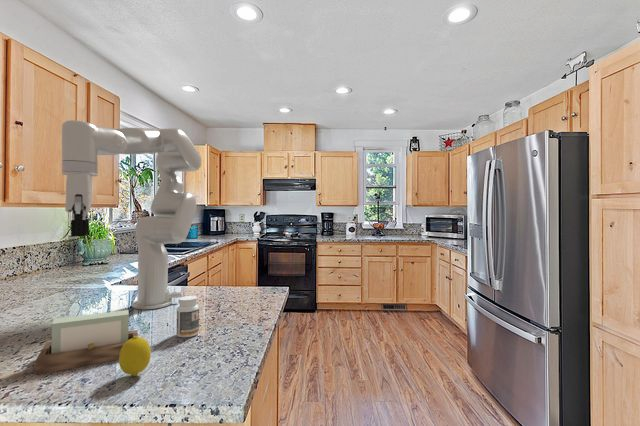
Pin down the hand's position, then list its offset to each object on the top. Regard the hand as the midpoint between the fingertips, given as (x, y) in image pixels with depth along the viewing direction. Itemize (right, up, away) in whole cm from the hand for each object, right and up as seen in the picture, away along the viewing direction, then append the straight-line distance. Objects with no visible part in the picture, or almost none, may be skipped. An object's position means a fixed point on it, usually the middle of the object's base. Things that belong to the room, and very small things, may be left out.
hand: (80, 234), depth 86 cm
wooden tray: (+11, -27, -12) cm, 31 cm away
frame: (+11, -26, -12) cm, 30 cm away
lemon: (+26, -27, -20) cm, 43 cm away
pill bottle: (+27, -28, +3) cm, 39 cm away
